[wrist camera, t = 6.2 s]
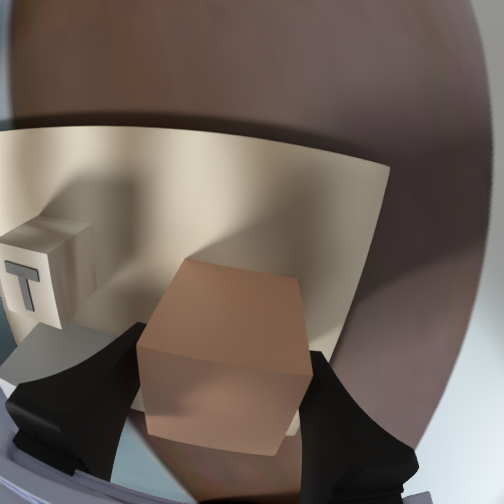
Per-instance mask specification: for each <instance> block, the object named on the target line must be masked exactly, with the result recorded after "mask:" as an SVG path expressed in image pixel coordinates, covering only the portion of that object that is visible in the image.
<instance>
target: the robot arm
mask: <svg viewBox="0 0 504 504" xmlns="http://www.w3.org/2000/svg"><path fill="white" fill-rule="evenodd" d="M146 326H147V324H146V323H141V322H136V323H135V324H134V325H132V326H131V327H130V328H129V329H128V330H126V331H125V332H124V333H123V334H121V335H120V336H119V337H118V338H116V339H115V340H114V341H112V342H111V343H110V344H108V345H107V346H106V347H104V348H103V349H101V350H100V351H98V352H97V353H95V354H94V355H93V356H91V357H89V358H88V359H86V360H84V361H82V362H81V363H79V364H77V365H75V366H73V367H71V368H68V369H66V370H64V371H61V372H59V373H57V374H54V375H51V376H48V377H45V378H41V379H38V380H33V381H29V382H24V383H19V384H18V385H17V387H16V388H15V389H14V391H13V392H12V394H11V395H10V397H9V398H7V397H6V395H5V393H4V391H3V390H2V388H1V386H0V504H187V503H182V502H177V501H173V500H168V499H164V498H160V497H156V496H152V495H149V494H145V493H141V492H138V491H135V490H131V489H128V488H125V487H122V486H119V485H116V484H113V483H110V479H111V474H112V469H113V464H114V460H115V455H116V451H117V447H118V444H119V440H120V436H121V433H122V430H123V427H124V423H125V420H126V417H127V415H128V412H129V410H130V408H131V406H132V403H133V401H134V399H135V397H136V395H137V393H138V391H139V389H140V387H141V384H140V376H139V368H138V359H137V348H136V344H137V342H138V340H139V339H140V337H141V335H142V333H143V331H144V329H145V327H146ZM309 351H310V358H311V364H312V371H313V377H312V379H311V382H310V384H309V386H308V388H307V391H306V393H305V395H304V397H303V399H302V401H301V404H300V406H299V408H298V411H299V419H300V427H301V436H302V477H301V491H300V502H299V504H433V502H432V499H431V495H430V492H428V491H427V492H423V493H419V494H415V495H410V496H407V497H405V498H403V499H402V497H401V493H403V491H404V488H403V484H404V483H405V482H406V481H408V480H409V479H410V478H411V477H412V476H413V475H414V474H415V473H416V472H417V471H418V469H419V464H418V461H417V457H416V454H415V452H414V449H413V448H411V447H409V446H408V445H406V444H404V443H403V442H401V441H399V440H398V439H396V438H395V437H393V436H392V435H391V434H389V433H388V432H386V431H385V430H384V429H383V428H381V427H380V426H379V425H378V424H377V423H376V422H375V421H373V420H372V419H371V418H370V417H369V416H368V415H367V414H366V413H365V412H364V411H363V410H362V409H361V408H360V407H359V405H358V404H357V403H356V402H355V401H354V400H353V398H352V397H351V396H350V394H349V393H348V392H347V390H346V389H345V388H344V386H343V385H342V383H341V382H340V380H339V379H338V377H337V376H336V374H335V373H334V371H333V370H332V368H331V366H330V365H329V363H328V361H327V360H326V358H325V356H324V355H323V353H322V352H321V351H314V350H309Z"/></svg>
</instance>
